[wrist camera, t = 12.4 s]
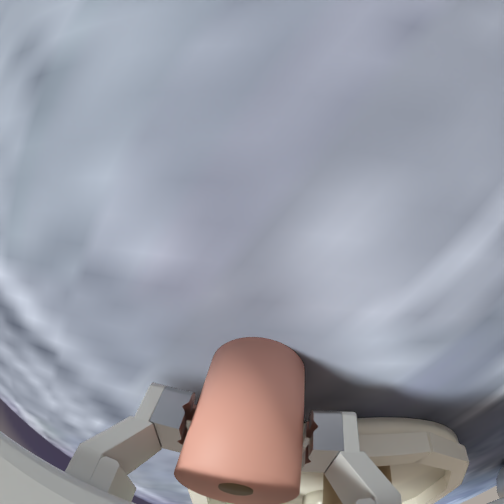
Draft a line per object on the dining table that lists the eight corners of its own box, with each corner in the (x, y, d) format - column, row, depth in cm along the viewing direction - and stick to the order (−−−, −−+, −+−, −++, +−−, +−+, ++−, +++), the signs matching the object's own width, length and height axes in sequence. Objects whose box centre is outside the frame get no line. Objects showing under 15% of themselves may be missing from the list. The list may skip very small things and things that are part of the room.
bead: (211, 329, 11) (165, 452, 6) (313, 344, 10) (313, 476, 6) (212, 391, 12) (180, 493, 8) (295, 403, 12) (287, 510, 7)
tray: (186, 395, 12) (172, 434, 10) (509, 403, 11) (520, 431, 9) (204, 501, 20) (199, 520, 18) (391, 509, 19) (392, 527, 17)
